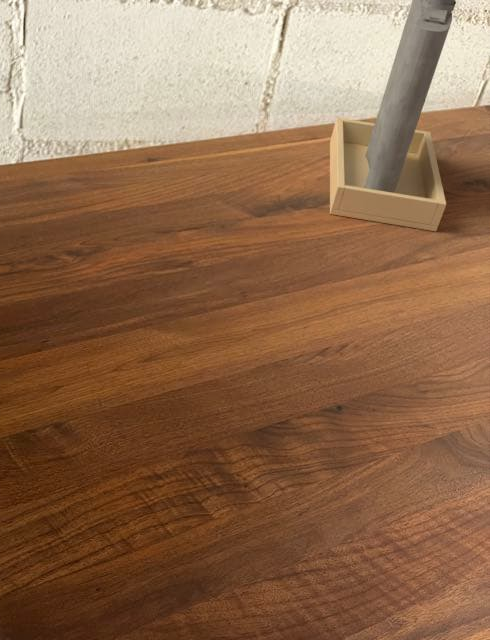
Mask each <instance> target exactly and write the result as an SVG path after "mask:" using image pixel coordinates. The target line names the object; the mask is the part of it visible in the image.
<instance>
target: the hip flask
mask: <svg viewBox="0 0 490 640" xmlns="http://www.w3.org/2000/svg"><path fill="white" fill-rule="evenodd" d="M456 5H457V1H456V0H411V4H410V7H409V9H408V10H409V11H408V14H407V17H406V20H405V24H404V27H403V30H402V32H401V37H400V40H399V43H398V47H397V49H396V53H395V56H394V59H393V62H392V66H391V70H390V72H389V75H388V79H387V83H386V86H385V89H384V93H383V96H382V99H381V103H380V104H379V105H380V106H379V108H378V112H377V116H376V118H375V122H374V123H375V125H374V129H373V132H372V135H371V138H370V142H369V145H368V148H367V152H366V155H365V156H366V158H367V161H368V164H369V172H368V176H367V179H366V182H365V185H364V188H366V189H372V190H379V191H385V192H391V193H394V192H395V189H396V186H397V183H398V180H399V177H400V174H401V171H402V168H403V165H404V162H405V159H406V156H407V153H408V150H409V147H410V144H411V141H412V138H413V135H414V132H415V130H417V126H418V123H419V120H420V117H421V114H422V111H423V108H424V105H425V102H426V100H427V96H428V93H429V91H430V87H431V85H432V82H433V79H434V75H435V72H436V70H437V67H438V64H439V60H440V57H441V55H442V52H443V49H444V46H445V43H446V39H447V37H448V34H449V30H450V28H451V25H452V21H453V12H454V10H455V7H456Z"/></svg>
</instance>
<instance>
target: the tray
mask: <svg viewBox="0 0 490 640" xmlns="http://www.w3.org/2000/svg"><path fill="white" fill-rule="evenodd" d="M374 125H375V122H374V123H373V122H368V121H362V120H355V119H348V118H342V117H336V118H335V122H334V126H333V130H332V132H331V137H330V141H329V214H330V215H333V216H340V217H345V218H346V217H347V218H350V219H351V218H352V219H358V220H364V221H369V222H374V223H375V222H376V223H380V224H381V223H382V224H388V225H393V226H400V227H406V228H413V229H418V230H424V231H430V232H437V230H438V227H439V225H440V223H441V220H442V217H443V214H444V212H445V209H446V207H447V201H446V197H445V192H444V186H443V183H442V179H441V174H440V169H439V164H438V160H437V156H436V152H435V147H434V142H433V139H432V134H431V132H430V131H426V130H419V129H415V132H414V135H413V138H412V141H411V144H410V147H409V150H408V153H407V156H406V159H405V162H404V165H403V168H402V171H401V174H400V177H399V180H398V183H397V186H396V189H395V192H394V193H391V192H385V191H379V190H372V189H366V188H364V185H365V182H366V179H367V176H368V172H369V164H368V161H367V158H366V156H365V155H366V152H367V148H368V145H369V142H370V138H371V135H372V132H373V129H374Z"/></svg>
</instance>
